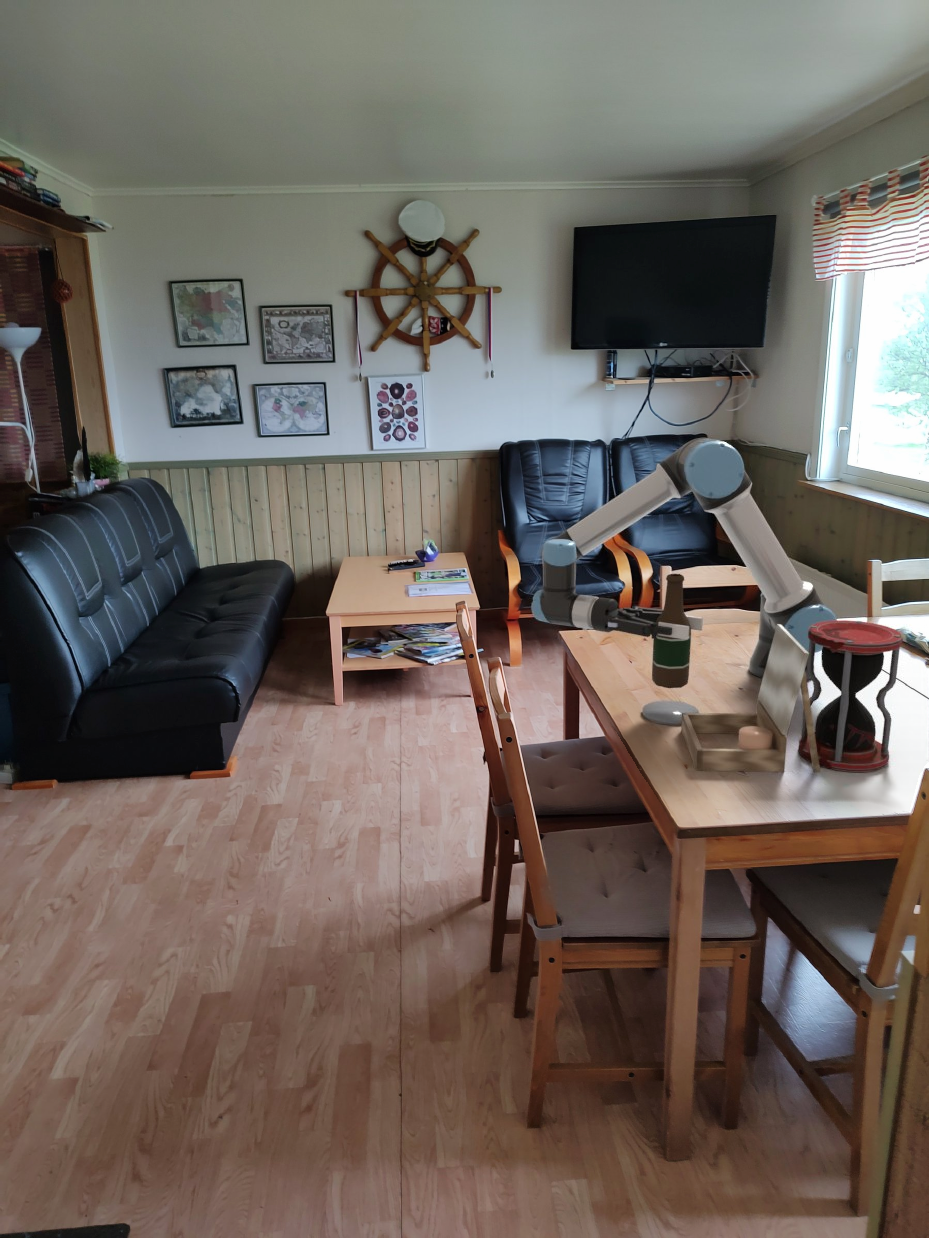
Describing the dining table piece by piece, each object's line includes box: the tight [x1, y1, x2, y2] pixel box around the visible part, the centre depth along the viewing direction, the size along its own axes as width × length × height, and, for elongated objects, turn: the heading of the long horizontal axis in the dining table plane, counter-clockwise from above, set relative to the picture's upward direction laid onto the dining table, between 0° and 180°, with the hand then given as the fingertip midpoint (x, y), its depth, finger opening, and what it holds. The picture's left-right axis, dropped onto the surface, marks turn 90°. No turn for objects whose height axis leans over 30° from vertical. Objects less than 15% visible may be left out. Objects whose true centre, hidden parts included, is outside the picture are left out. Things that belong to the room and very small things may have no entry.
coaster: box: [642, 700, 700, 726], centre depth 187 cm, size 12×12×1 cm
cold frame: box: [680, 624, 821, 773], centre depth 165 cm, size 23×19×24 cm
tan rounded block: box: [737, 726, 772, 749], centre depth 163 cm, size 6×6×6 cm
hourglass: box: [797, 619, 904, 773], centre depth 162 cm, size 16×16×25 cm
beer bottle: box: [651, 573, 692, 689], centre depth 182 cm, size 8×8×24 cm
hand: (695, 628), depth 179 cm, fingers closed on beer bottle, 7 cm apart
